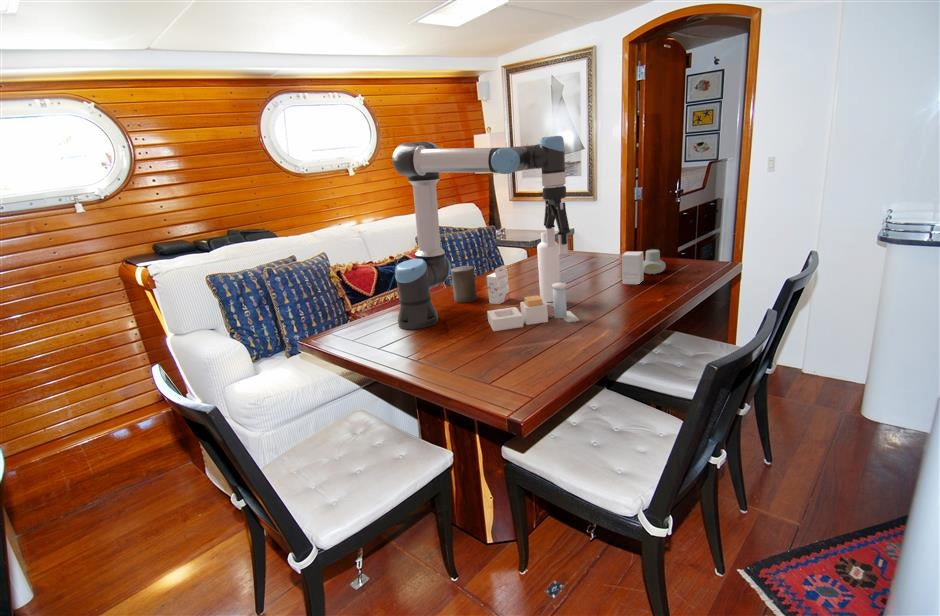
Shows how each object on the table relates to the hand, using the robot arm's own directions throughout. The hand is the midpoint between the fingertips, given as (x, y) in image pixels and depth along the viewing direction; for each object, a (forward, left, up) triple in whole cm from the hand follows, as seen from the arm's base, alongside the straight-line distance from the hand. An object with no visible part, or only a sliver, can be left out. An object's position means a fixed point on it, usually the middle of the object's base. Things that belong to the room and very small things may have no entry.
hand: (557, 250), depth 163 cm
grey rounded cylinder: (0, 0, -24) cm, 24 cm away
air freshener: (+56, +41, -25) cm, 74 cm away
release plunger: (-9, 0, -24) cm, 25 cm away
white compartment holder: (-15, 0, -25) cm, 29 cm away
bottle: (+2, +18, -25) cm, 31 cm away
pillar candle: (-29, +40, -25) cm, 55 cm away
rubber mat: (0, 0, -25) cm, 25 cm away
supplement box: (+42, +31, -25) cm, 58 cm away
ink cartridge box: (-16, +31, -25) cm, 43 cm away
